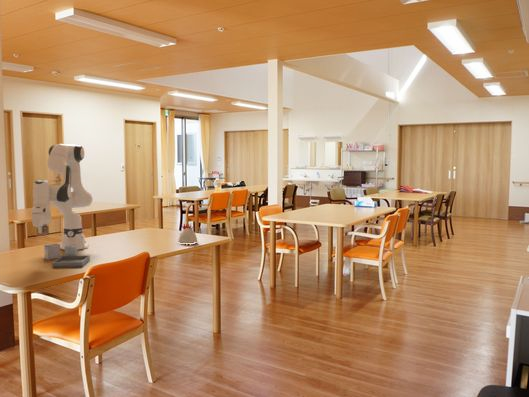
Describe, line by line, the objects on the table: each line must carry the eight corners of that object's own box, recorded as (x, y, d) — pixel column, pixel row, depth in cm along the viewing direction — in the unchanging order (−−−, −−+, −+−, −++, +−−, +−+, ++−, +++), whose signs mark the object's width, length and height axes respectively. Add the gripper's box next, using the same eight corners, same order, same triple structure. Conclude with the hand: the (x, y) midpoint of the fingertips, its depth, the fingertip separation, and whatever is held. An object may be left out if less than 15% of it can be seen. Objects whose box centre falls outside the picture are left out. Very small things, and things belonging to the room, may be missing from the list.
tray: (62, 260, 276) (62, 255, 276) (89, 260, 278) (89, 255, 278) (52, 267, 258) (52, 262, 258) (81, 267, 260) (81, 262, 260)
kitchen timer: (180, 241, 345) (180, 222, 344) (198, 242, 345) (198, 222, 344) (176, 245, 331) (176, 224, 330) (195, 245, 331) (195, 224, 330)
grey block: (66, 258, 284) (66, 245, 283) (78, 258, 284) (78, 245, 284) (63, 260, 277) (62, 247, 276) (75, 260, 278) (75, 247, 277)
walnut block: (39, 234, 267) (39, 225, 267) (48, 234, 268) (48, 225, 267) (36, 235, 262) (36, 227, 262) (45, 235, 263) (45, 227, 262)
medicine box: (57, 256, 287) (56, 243, 287) (60, 257, 285) (60, 244, 284) (44, 258, 281) (44, 244, 281) (47, 259, 278) (47, 245, 278)
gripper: (42, 206, 273) (43, 229, 275) (29, 210, 253) (30, 235, 254) (53, 206, 274) (54, 229, 275) (41, 210, 254) (42, 235, 255)
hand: (42, 232), depth 265 cm, fingers closed on walnut block, 5 cm apart
